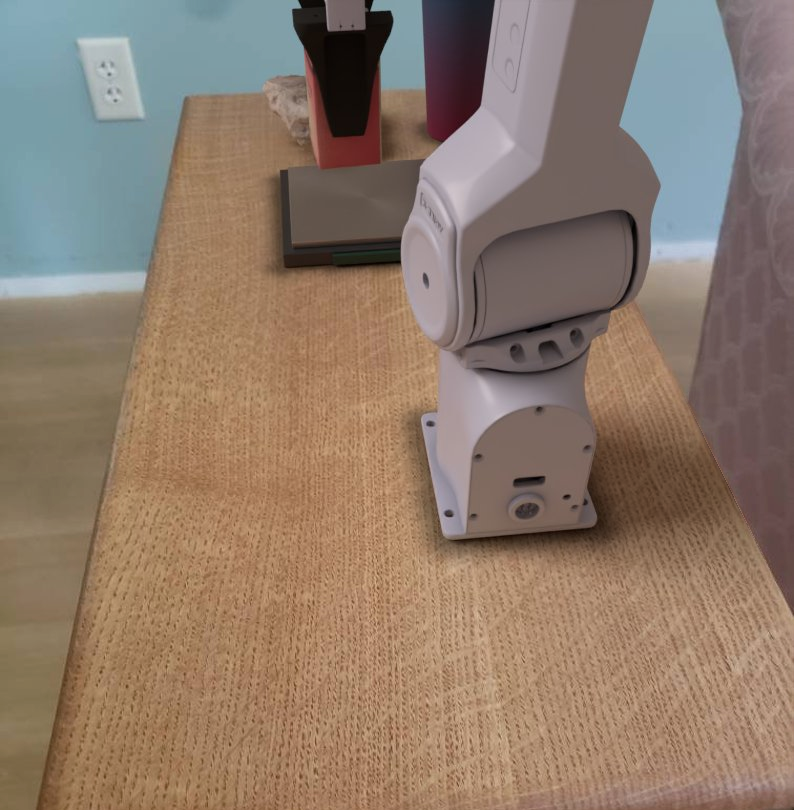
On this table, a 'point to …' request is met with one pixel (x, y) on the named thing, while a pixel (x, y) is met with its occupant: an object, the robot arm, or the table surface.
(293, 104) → the fossil
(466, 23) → the cup
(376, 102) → the small box
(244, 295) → the table surface
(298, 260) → the scale
